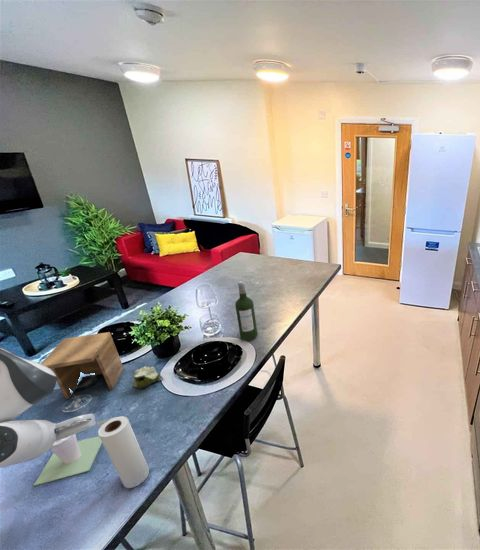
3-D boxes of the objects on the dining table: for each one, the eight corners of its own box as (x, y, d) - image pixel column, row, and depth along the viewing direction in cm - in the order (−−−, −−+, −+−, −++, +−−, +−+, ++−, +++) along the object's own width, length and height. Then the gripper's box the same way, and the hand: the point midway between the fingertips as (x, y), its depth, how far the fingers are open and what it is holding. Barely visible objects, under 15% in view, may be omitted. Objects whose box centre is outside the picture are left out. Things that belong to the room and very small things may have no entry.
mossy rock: (148, 395, 110) (137, 382, 106) (131, 390, 113) (120, 377, 109) (168, 375, 117) (159, 362, 113) (152, 371, 120) (142, 358, 116)
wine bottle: (254, 329, 149) (246, 277, 137) (259, 336, 144) (252, 283, 131) (238, 334, 144) (229, 281, 132) (243, 342, 139) (234, 287, 127)
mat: (33, 486, 79) (33, 485, 79) (57, 446, 89) (57, 446, 89) (88, 471, 83) (88, 470, 83) (105, 435, 93) (105, 434, 93)
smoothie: (87, 443, 90) (70, 411, 85) (86, 459, 86) (68, 427, 80) (58, 455, 86) (38, 423, 81) (56, 473, 82) (34, 440, 76)
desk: (60, 407, 102) (37, 367, 95) (81, 376, 116) (63, 338, 108) (108, 397, 107) (91, 358, 99) (124, 368, 120) (109, 331, 113)
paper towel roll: (151, 478, 82) (129, 426, 73) (124, 493, 78) (98, 441, 70) (146, 459, 87) (125, 408, 78) (121, 473, 83) (96, 421, 74)
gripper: (85, 406, 75) (100, 408, 86) (-41, 450, 63) (-5, 445, 74) (89, 431, 73) (104, 429, 84) (-38, 480, 62) (-2, 470, 73)
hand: (52, 437), depth 79 cm, fingers open, 8 cm apart
